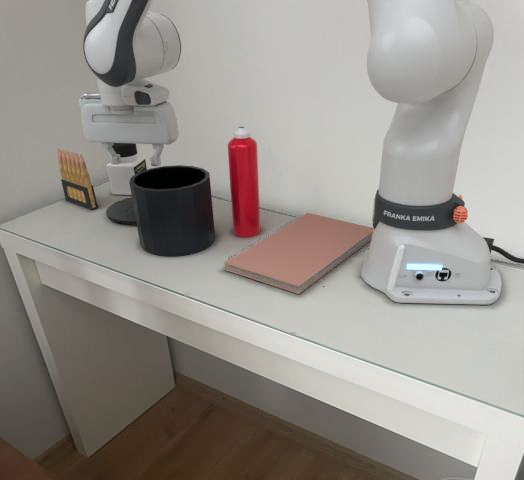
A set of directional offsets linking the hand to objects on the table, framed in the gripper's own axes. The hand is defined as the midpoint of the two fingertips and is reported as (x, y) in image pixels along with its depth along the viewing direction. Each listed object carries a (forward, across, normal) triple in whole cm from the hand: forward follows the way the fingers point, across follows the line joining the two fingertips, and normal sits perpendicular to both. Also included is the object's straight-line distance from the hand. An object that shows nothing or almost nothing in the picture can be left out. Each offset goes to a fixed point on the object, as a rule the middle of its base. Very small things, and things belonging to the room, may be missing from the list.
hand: (136, 164), depth 111 cm
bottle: (+11, +25, -5) cm, 28 cm away
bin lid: (+10, -1, 0) cm, 10 cm away
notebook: (+12, +38, -12) cm, 42 cm away
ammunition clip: (+10, -18, +2) cm, 21 cm away
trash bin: (+11, +13, -12) cm, 21 cm away
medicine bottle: (+10, -11, +13) cm, 20 cm away
